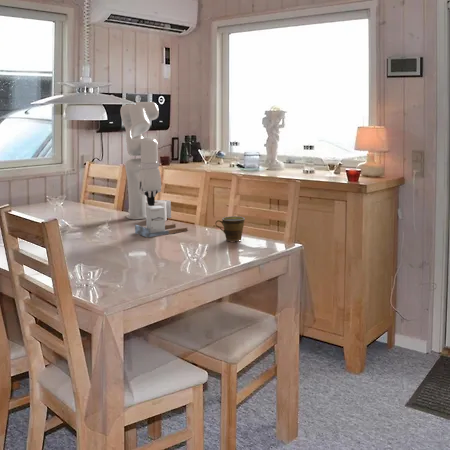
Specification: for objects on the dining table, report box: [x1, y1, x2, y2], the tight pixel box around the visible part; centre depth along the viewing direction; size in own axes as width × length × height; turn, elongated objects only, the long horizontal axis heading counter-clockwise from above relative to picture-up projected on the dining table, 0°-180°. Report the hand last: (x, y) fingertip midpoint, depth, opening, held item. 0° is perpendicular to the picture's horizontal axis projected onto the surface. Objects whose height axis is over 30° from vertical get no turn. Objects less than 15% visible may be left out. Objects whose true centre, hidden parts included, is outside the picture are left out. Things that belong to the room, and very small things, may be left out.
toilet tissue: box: [146, 199, 172, 222], centre depth 323 cm, size 11×12×10 cm
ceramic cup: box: [215, 216, 245, 242], centre depth 274 cm, size 13×10×10 cm
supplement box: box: [145, 206, 166, 233], centre depth 292 cm, size 7×7×13 cm
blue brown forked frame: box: [134, 223, 189, 238], centre depth 295 cm, size 12×22×4 cm, turn 126°
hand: (151, 205), depth 289 cm, fingers closed
